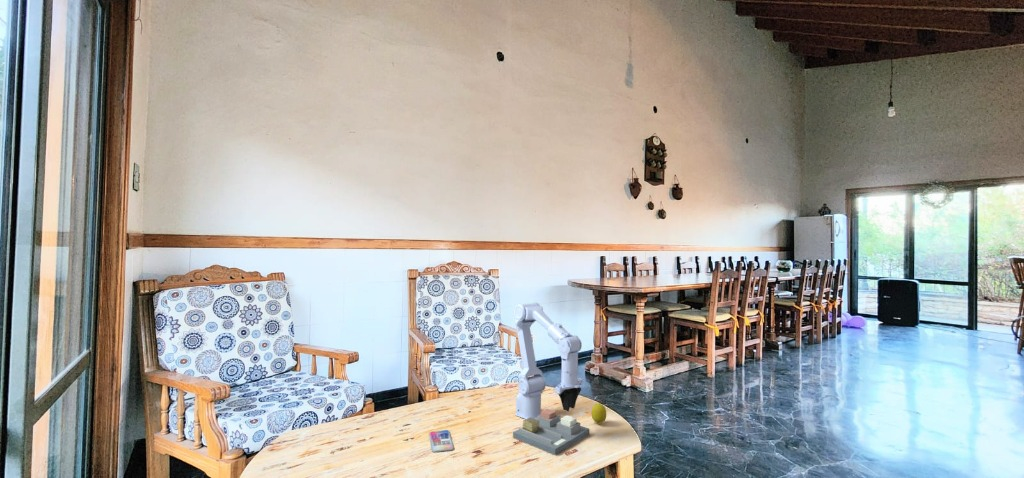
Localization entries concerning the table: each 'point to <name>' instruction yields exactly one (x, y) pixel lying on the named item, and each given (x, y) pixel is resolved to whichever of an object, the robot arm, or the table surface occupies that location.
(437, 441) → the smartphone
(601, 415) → the lemon
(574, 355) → the robot arm
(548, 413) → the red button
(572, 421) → the cream button
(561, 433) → the panel
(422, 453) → the table surface
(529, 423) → the slider knob
